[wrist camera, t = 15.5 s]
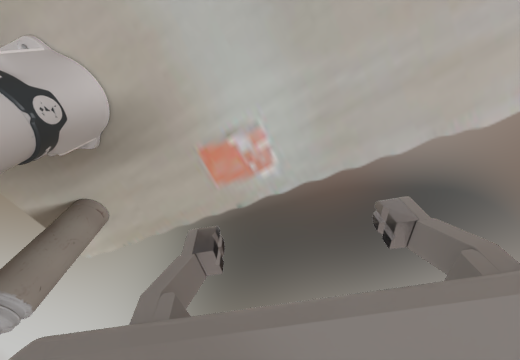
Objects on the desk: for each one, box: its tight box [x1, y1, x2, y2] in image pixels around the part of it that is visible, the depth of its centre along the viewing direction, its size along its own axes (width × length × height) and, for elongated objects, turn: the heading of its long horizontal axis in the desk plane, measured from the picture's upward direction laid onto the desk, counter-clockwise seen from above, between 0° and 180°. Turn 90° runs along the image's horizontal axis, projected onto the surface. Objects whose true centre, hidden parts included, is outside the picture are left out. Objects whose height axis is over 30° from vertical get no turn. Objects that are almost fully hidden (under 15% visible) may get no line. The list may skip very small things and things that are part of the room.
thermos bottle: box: [0, 199, 109, 334], centre depth 41 cm, size 8×8×28 cm
